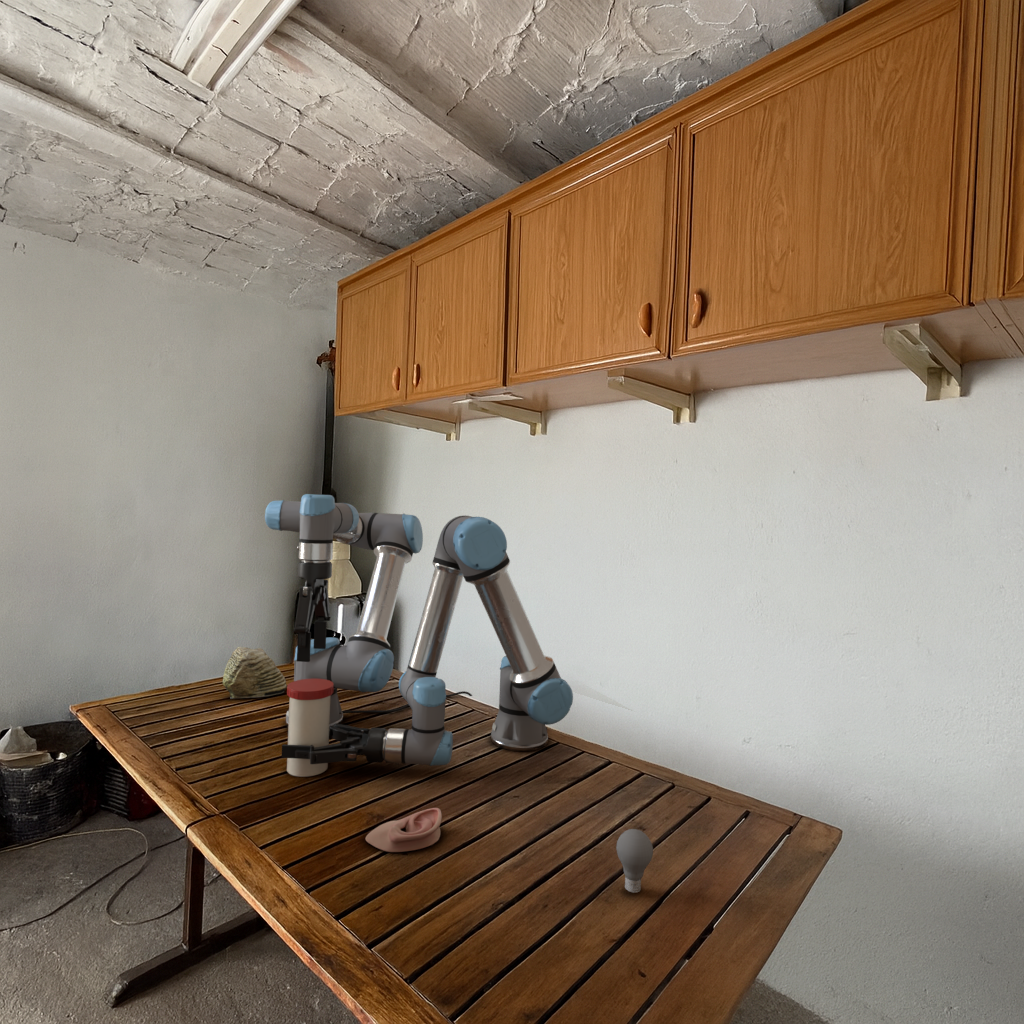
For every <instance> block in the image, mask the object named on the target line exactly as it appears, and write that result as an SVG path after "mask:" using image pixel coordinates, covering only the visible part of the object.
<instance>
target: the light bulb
mask: <svg viewBox="0 0 1024 1024" xmlns="http://www.w3.org/2000/svg"><path fill="white" fill-rule="evenodd" d="M615 849H616V854H617V857H618V859H619V861H620V863H621V865H622V867H623V873H624V874H623V875H624V876H625V878H624V888H625V890H627V891H628V892H630V893H634V894H635V893H639V892H640V891H641V889H642V887H641V886H642V879H643V877H644V875H645V871H646V868H647V867H648V866H649V864H650V863H651V861H652V859H653V855H654V847H653V843H652V841H651V838H649V836H648V835H647V834H646V833H645V832H643V831H642V830H641V829H636V828H629V829H627V830H625V831H623V832H622V833H621V834H620V835H619V837H618V839H617V841H616V847H615Z"/></svg>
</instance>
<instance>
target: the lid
mask: <svg viewBox="0 0 1024 1024" xmlns="http://www.w3.org/2000/svg"><path fill="white" fill-rule="evenodd" d="M333 692H334V685H333V682H331V681H329V680H325V679H302V680H297V681H294V680H293V681H291V682H289V683H287V687H286V695H287V697H288V698H289V697H290V698H293V699H298V700H315V699H321V698H325V697H328V696H330V695H332V694H333Z"/></svg>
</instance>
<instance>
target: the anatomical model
mask: <svg viewBox="0 0 1024 1024" xmlns="http://www.w3.org/2000/svg"><path fill="white" fill-rule="evenodd" d="M442 818H443V814H442V811H441V809H440V808H438V807H431V808H427V809H423V810H420V811H417V812H415V813H412V814H410V815H408V816H405V817H403V818H400V819H398V820H397V819H396V820H390V821H386V822H384V823H382V824H379V825H378V826H376V827H375V828H374V829H372V830H371V831H369V832H368V833H367V835H366V836H365V839H364V840H365V841H366V842H367V843H368V844H370V845H371V846H373V847H375V848H377V849H379V850H381V851H384V852H387V853H402V852H410V851H416V850H417V851H418V850H421V849H425V848H427V847H430V846H433V845H434V844H435V843H437V842H438V841H439V840H440V837H441V827H440V826H441V824H442Z"/></svg>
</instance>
